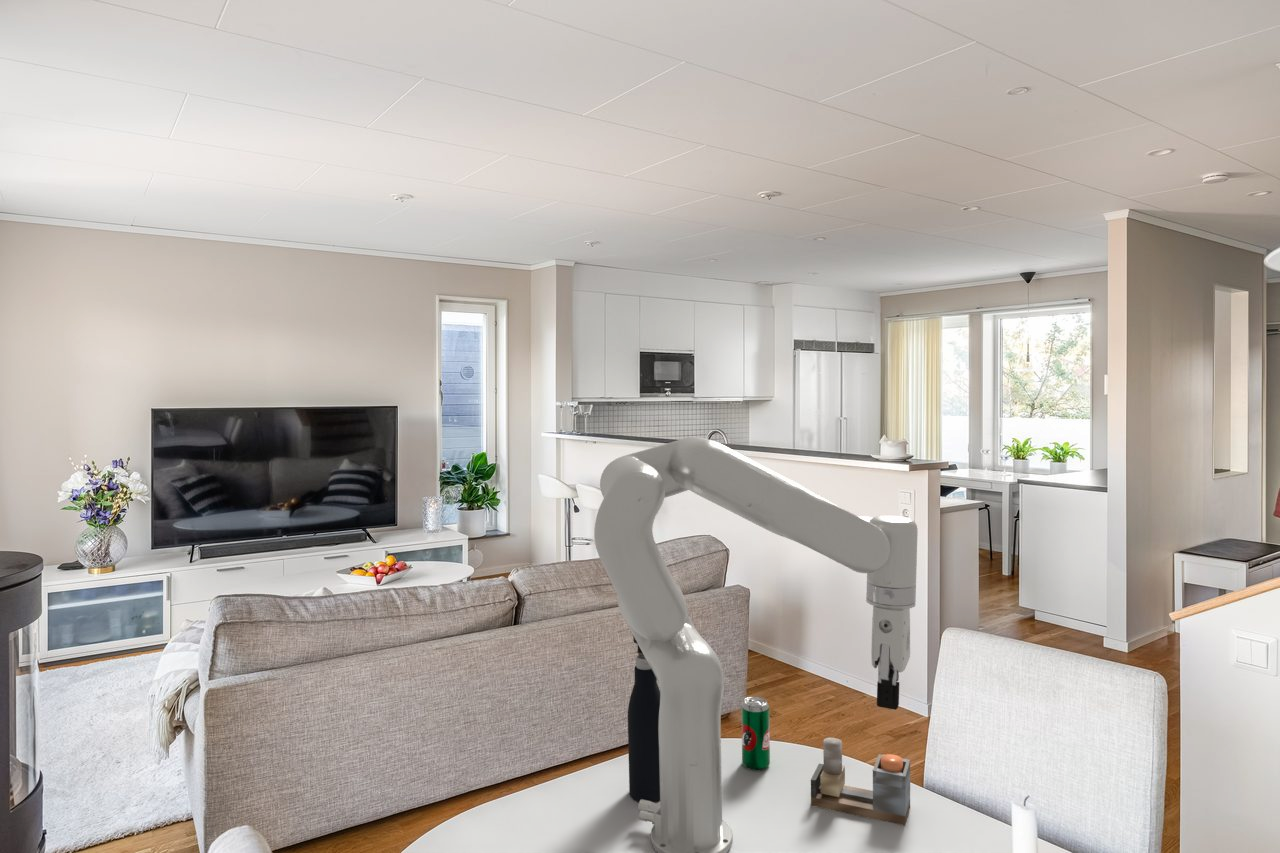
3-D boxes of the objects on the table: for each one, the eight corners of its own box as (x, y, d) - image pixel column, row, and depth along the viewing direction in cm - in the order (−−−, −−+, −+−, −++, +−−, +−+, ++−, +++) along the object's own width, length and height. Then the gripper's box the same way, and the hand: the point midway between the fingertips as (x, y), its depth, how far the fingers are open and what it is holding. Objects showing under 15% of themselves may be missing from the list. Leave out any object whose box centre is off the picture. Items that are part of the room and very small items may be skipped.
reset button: (879, 777, 130) (879, 761, 129) (882, 768, 133) (882, 752, 133) (901, 781, 128) (901, 765, 128) (904, 772, 131) (904, 756, 131)
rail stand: (811, 805, 134) (810, 758, 133) (819, 788, 139) (818, 743, 138) (905, 825, 127) (905, 776, 127) (910, 807, 132) (910, 759, 132)
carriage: (820, 793, 133) (820, 746, 133) (827, 779, 138) (826, 733, 137) (838, 797, 132) (838, 749, 131) (844, 782, 136) (844, 736, 136)
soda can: (769, 772, 145) (768, 707, 144) (741, 770, 146) (740, 705, 145) (770, 759, 150) (769, 696, 149) (743, 757, 151) (742, 694, 150)
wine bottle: (624, 800, 136) (620, 626, 134) (635, 782, 143) (632, 615, 141) (661, 805, 135) (657, 629, 133) (670, 786, 141) (667, 618, 139)
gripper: (909, 608, 120) (906, 729, 121) (920, 586, 134) (917, 694, 135) (858, 602, 123) (855, 719, 124) (874, 581, 137) (871, 686, 138)
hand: (887, 706), depth 130 cm, fingers closed
